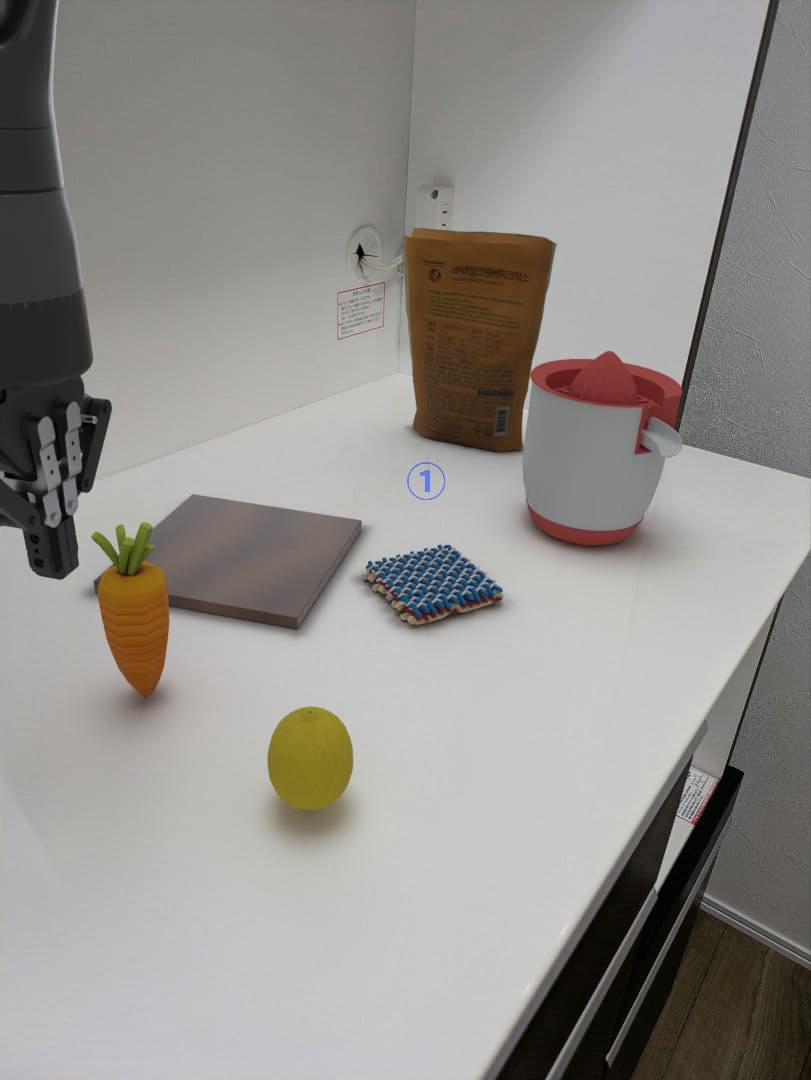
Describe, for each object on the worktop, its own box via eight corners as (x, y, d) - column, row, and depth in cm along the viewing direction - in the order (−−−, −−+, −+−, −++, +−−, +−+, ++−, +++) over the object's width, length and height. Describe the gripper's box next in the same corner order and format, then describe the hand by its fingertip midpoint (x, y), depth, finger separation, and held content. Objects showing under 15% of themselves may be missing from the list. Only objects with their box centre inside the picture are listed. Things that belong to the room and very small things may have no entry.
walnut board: (94, 592, 77) (93, 581, 77) (193, 503, 94) (192, 493, 94) (297, 629, 73) (297, 618, 73) (361, 529, 91) (361, 520, 90)
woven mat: (448, 555, 86) (449, 538, 85) (507, 605, 78) (509, 587, 77) (358, 576, 82) (359, 559, 81) (411, 632, 74) (412, 613, 73)
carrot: (100, 709, 63) (72, 535, 56) (134, 670, 67) (112, 504, 60) (160, 721, 62) (139, 546, 55) (190, 682, 66) (174, 514, 59)
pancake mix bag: (523, 462, 109) (550, 240, 96) (391, 436, 116) (400, 223, 102) (536, 446, 115) (564, 233, 101) (410, 421, 121) (421, 218, 108)
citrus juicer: (604, 580, 83) (640, 388, 74) (484, 515, 95) (502, 342, 85) (692, 538, 92) (735, 363, 83) (573, 483, 104) (598, 324, 95)
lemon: (252, 802, 55) (247, 709, 52) (317, 762, 59) (316, 672, 55) (304, 851, 52) (302, 755, 48) (369, 806, 56) (372, 714, 52)
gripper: (22, 254, 49) (66, 517, 57) (-164, 300, 37) (-76, 620, 46) (138, 266, 47) (165, 533, 56) (-20, 317, 36) (45, 644, 44)
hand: (56, 572), depth 51 cm, fingers closed
